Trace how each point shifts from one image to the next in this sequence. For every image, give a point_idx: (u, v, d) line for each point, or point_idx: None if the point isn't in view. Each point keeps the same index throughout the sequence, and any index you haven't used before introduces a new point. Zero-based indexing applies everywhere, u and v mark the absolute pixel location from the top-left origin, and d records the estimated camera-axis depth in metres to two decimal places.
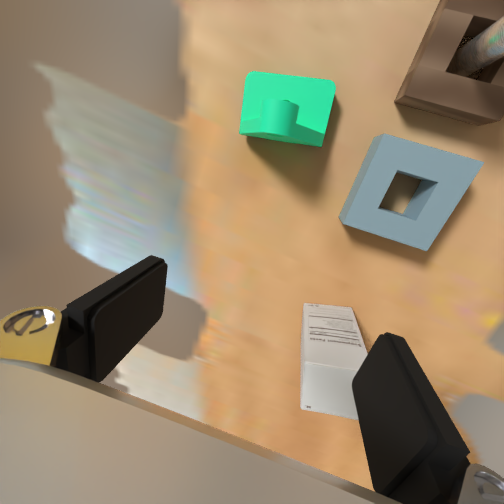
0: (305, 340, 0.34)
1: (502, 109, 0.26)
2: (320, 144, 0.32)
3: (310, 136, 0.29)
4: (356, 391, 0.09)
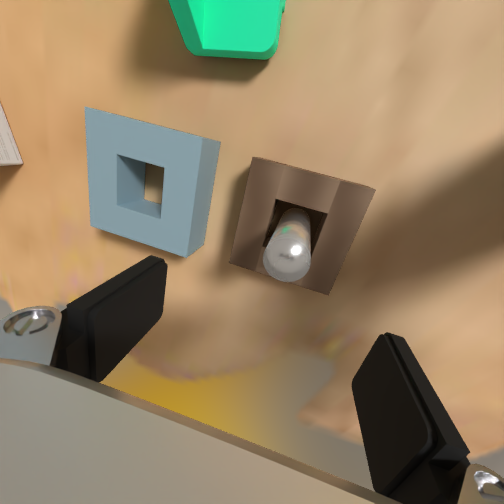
0: None
1: (239, 262, 0.25)
2: (186, 42, 0.19)
3: None
4: (356, 391, 0.09)
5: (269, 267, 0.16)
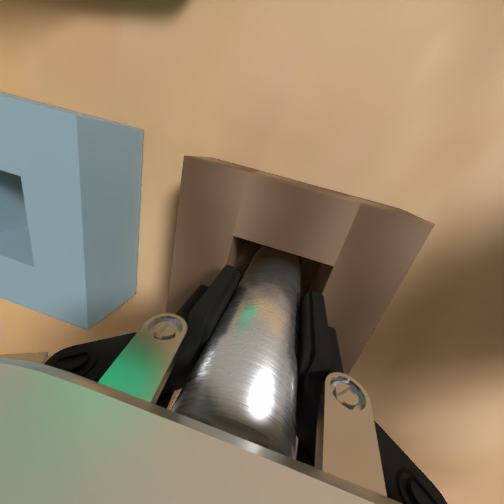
0: None
1: None
2: None
3: None
4: None
5: None
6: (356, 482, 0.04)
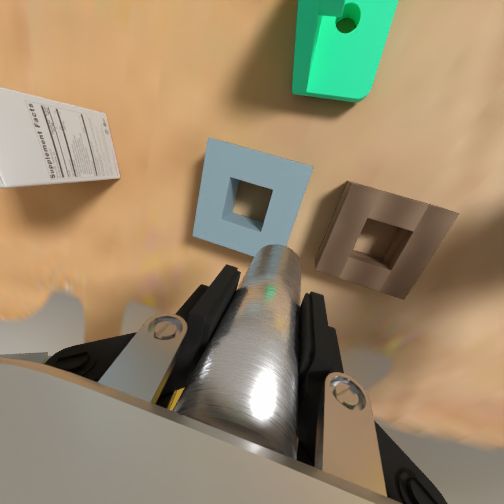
0: (21, 94, 0.23)
1: (325, 270, 0.29)
2: (293, 86, 0.24)
3: (302, 56, 0.21)
4: None
5: None
6: (356, 482, 0.04)
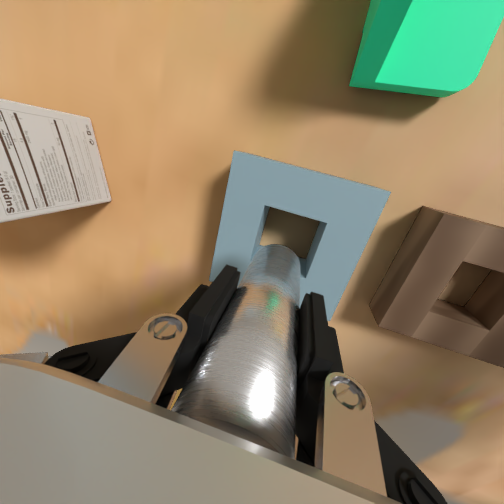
0: None
1: (392, 326, 0.21)
2: (357, 73, 0.16)
3: (386, 23, 0.13)
4: None
5: None
6: (356, 482, 0.04)
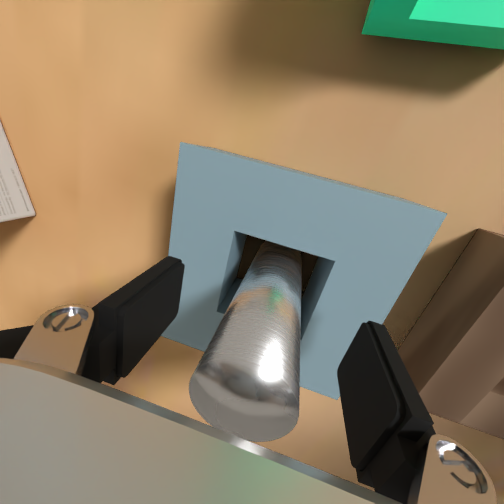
0: None
1: (430, 407, 0.14)
2: (379, 0, 0.09)
3: None
4: (340, 377, 0.10)
5: (205, 409, 0.07)
6: None
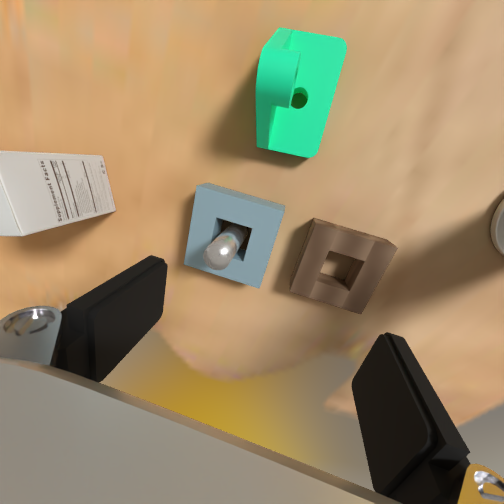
0: (34, 154, 0.26)
1: (297, 291, 0.35)
2: (257, 144, 0.29)
3: (262, 128, 0.26)
4: (356, 391, 0.09)
5: (207, 261, 0.27)
6: None
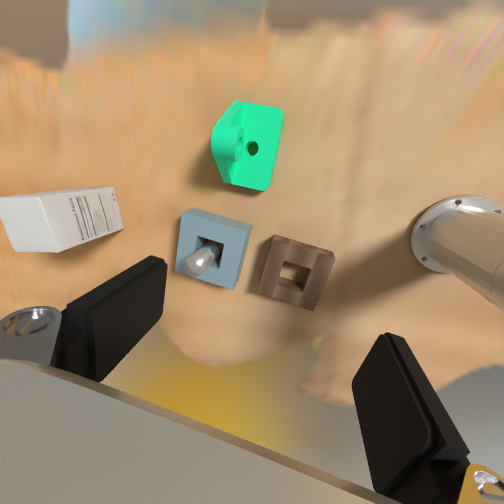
0: (65, 194, 0.37)
1: (262, 292, 0.44)
2: (223, 181, 0.39)
3: (223, 172, 0.36)
4: (356, 391, 0.09)
5: (186, 270, 0.37)
6: None
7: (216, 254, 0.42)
